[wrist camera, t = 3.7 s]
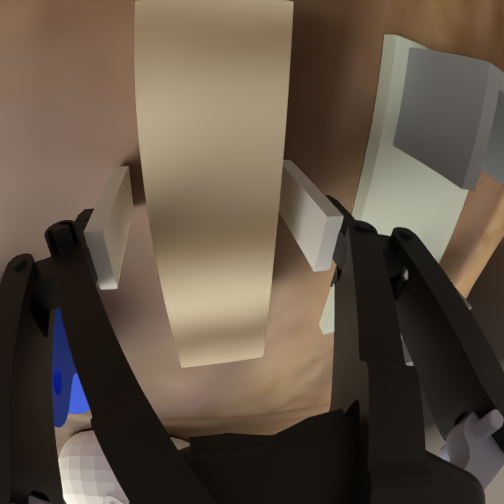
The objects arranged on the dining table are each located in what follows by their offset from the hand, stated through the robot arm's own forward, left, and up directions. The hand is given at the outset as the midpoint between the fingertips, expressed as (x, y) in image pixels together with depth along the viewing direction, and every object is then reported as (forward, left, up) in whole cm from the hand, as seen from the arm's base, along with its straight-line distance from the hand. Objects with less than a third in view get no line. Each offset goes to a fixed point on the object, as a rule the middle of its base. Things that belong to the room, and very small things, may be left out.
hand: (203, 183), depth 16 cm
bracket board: (+2, +16, 0) cm, 16 cm away
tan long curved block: (0, 0, -1) cm, 1 cm away
